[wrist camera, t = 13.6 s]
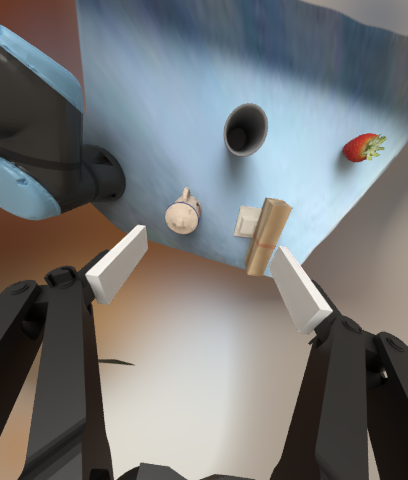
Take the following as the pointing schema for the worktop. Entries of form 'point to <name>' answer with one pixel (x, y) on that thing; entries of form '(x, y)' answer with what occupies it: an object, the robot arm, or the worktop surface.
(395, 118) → the worktop surface
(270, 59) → the worktop surface
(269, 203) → the beam
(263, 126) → the cup
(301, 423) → the robot arm
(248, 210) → the fulcrum
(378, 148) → the fruit
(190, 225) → the teacup with lid
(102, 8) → the worktop surface
